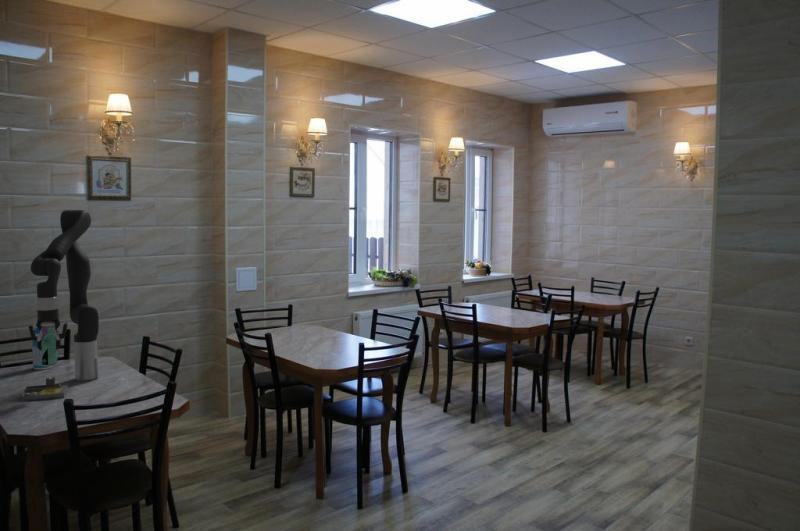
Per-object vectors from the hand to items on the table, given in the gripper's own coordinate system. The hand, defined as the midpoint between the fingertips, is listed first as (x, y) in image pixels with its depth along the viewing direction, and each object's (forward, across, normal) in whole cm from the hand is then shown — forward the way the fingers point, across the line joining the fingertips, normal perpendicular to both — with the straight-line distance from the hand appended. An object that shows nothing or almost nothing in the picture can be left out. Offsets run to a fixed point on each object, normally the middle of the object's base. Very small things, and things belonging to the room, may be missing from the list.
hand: (49, 349), depth 256 cm
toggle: (+17, +1, -5) cm, 18 cm away
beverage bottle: (+20, +10, -52) cm, 56 cm away
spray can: (+7, 0, 0) cm, 7 cm away
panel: (+19, +2, -2) cm, 20 cm away
